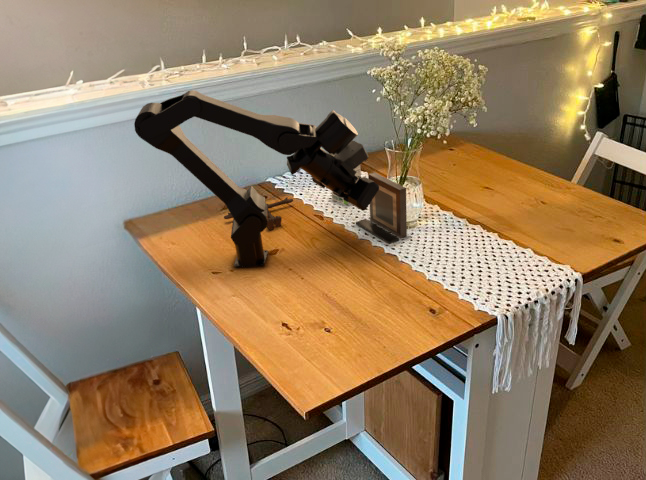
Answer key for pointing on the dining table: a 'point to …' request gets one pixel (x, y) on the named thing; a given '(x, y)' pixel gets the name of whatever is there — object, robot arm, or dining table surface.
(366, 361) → the dining table surface
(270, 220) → the brown spindly part
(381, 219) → the picture frame
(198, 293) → the dining table surface
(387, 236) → the frame stand
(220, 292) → the dining table surface
